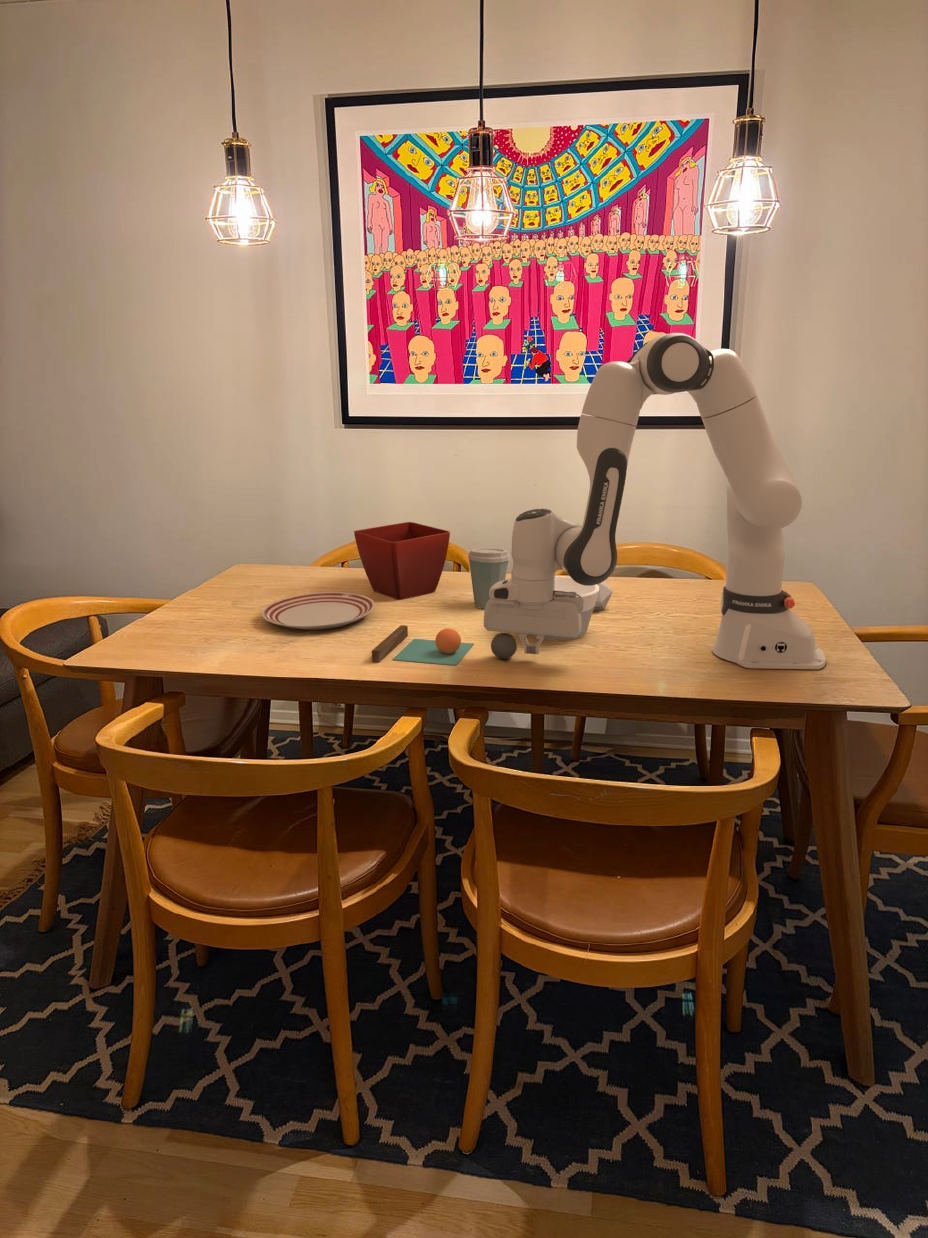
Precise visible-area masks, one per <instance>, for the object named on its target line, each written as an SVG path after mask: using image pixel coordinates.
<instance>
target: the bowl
mask: <svg viewBox="0 0 928 1238" xmlns="http://www.w3.org/2000/svg"><path fill="white" fill-rule="evenodd" d="M554 590H555V591H565V592H576V594H578V595H580V596H581V597H582V598H583V610H582V612H581V621H582V629H581V632H580V634H579V635H578V636H577V637H563V636H550V635H545V638H544V639H543V640H545V641H546V640H547V641H571V640H576V639H580V638H582V637H584V636H585V635H586V634H587V631H588V628H589V625H590V622H591V619H592V616H593V612H594V610H593V609H594V606H595V603H596V599H597V596H598V592H599V586H598V585H592V586H585V585H581V584H579V583H577V582H575V581H574V580H573V579H572V578H571V577H570V576H563V575H555V589H554ZM576 597H578V596H576ZM528 635H529V636H530V637H533V638H536V639H537V634H528Z"/></svg>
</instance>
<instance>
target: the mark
mask: <svg viewBox="0 0 928 1238" xmlns="http://www.w3.org/2000/svg"><path fill="white" fill-rule="evenodd" d="M473 646H474V643H472V642H470V643H469V642H461V644H460V647H459V649H458V650H457V651H456V652H454V653H452V654H445V653H442V652H441V651H439V650H438V648H437V646H436V643H435V640H434V639H423V638H413V639H412V640H411V641H410V642H409V643H408V644H407V645H406V646H405V647H403V649H402V650H401V651H400V652H398V654H397V655H395V656H394V657H393V658H392V661H399V662H411V663H422V664H430V665H431V664H433V665H441V664H442V665H441V666H443V665H444V666H453V665H454V667H455V666H456V665H457V666H458V664H459V663H460V662H461V661H462V660H463V658H465V656H466V654H467V653H468V652H469V651H470V650H471V649H472V647H473ZM457 666H456V667H457Z"/></svg>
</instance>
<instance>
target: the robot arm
mask: <svg viewBox="0 0 928 1238" xmlns="http://www.w3.org/2000/svg"><path fill="white" fill-rule="evenodd" d="M685 392H687V393H688V394H689V395H690V396H691V397H692V399H693V400H694V402H695V403H696V406H697V410H698V412H699V415H700V418H701V421H702V422H703V426H704V428H705V430H706V434H707V437H708V439H709V442H710V445H711V447H712V450H713V452H714V455H715V457H716V459H717V460H718V462H719V464H720V467H721V468H722V470H723V472H724V475H725V477H726V479H727V480H728V482H727V484H726V520H727V521H726V524H727V525H726V527H727V529H726V530H727V540H728V541H727V543H728V544H727V548H728V550H727V565H726V576H725V577H726V578H725V586H724V587H723V588H722V593H721V603H720V610H721V611H720V612H721V619H720V624H719V628H718V631H717V635H716V639H715V640H714V643H713V646H712V649H711V651H712V653H713V654H714V655H715V656H716V657H719V658H721V659H724V660H725V661H729V662H733V663H735V664H737V665H739V666H741V667H744V668H746V669H766V670H767V669H773V670H775V669H776V670H777V669H778V670H779V669H780V670H820V669H822V668H824V667H825V666H826V662H827V661H826V660H827V659H826V654H825V652H824V650H822V649H821V648H820V647H818V646H817V644H816V636H815V633H814V631H813V630H814V629H812V627H811V626H810V625H809V623H807V622H806V621H805V620H804V619H802V618H801V616H799V615H798V614H797V613H795V612H794V611H792V609H793V608H794V607H795V605H796V601H795V599H794V598H793V597H792V595H791V594H789V592H788V591H787V590H786V591H785V590H783V589H782V587H783V577H784V571H785V570H784V569H785V568H784V567H785V562H786V561H785V560H786V551H785V546H784V538H783V528H786V527H788V526H789V525H791V524H792V523H793V522H794V521H796V519H797V518H798V517H799V514H800V513H801V510H802V503H803V500H802V496H801V492H800V491H799V488H798V487H797V485H796V482H795V480H794V478H793V476H792V473H791V471H790V469H789V467H788V464H787V463H786V460H785V459H784V456H783V454H782V451H781V450H780V449H779V446H778V444H777V442H776V440H775V439H774V436H773V433H772V432H771V430H770V429H771V428H770V427H769V424H768V422H767V418H766V416H765V413H764V410H763V406H762V404H761V402H760V400H759V397H758V393H757V391H756V388H755V386H754V383H753V381H752V379H751V377H750V374H749V372H748V371H747V369H746V367H745V365H744V364H743V362H742V361H741V358H740V357H739V355H738V354H737V353H736V352H735V351H733V350H731V349H728V348H717V349H713V350H712V349H711V350H709V349H707V348H706V347H705V346H704V345H703V344H702V343H700V342H699V341H698V340H697V339H695V338H694V337H693V336H691V335H689V334H686V333H682V332H672V333H664V334H660V335H657V336H655V337H653V338H652V339H651V340H648V341H647V342H645V343H644V344H642V345H641V346H640V347H639V348H638V349H637V350H636V351H635V352H634V354H633V355H632V356H631V357H630V358H629V359H628V360H627V361H626V362H625V361H621V360H620V361H617V360H616V361H609V362H606V363H604V364H602V365H601V366H600V367H599V368H598V369H597V371H596V373H595V374H594V377H593V379H592V381H591V383H590V386H589V389H588V392H587V394H586V396H585V400H584V404H583V407H582V409H581V414H580V417H579V421H578V426H577V434H576V450H577V451H578V455H579V456H580V458H581V460H582V461H583V463H584V465H585V468H586V470H587V474H588V478H589V492H588V496H587V502H586V505H585V512H584V516H583V517H584V518H583V522H582V524H581V523H577V522H573V521H569V520H568V519H565V518H563V517H561V516H559V515H557V514H556V513H554V512H553V510H551V509H548V508H534V509H530V510H529V509H528V510H525V511H524V512H522V513H521V514H519V515H517V517H516V518H515V521H514V522H513V528H512V538H511V558H512V562H513V566H512V569H511V574H510V575H511V578H508V579H507V578H506V579H505V580H503V581H499V582H497V583H495V584H494V585H493V586H492V587H491V588H490V590H489V597H490V599H489V600H488V602H487V603H486V606H485V609H484V614H483V627H484V628H485V631H488V632H499V633H512V634H513V633H516V634H519V635H518V638H519V639H520V640H519V641H521V643H522V645H523V647H524V649H523V651H524V654H530V655H531V654H532V655H539V654H540V651H541V650H540V648H541V647H540V646H541V644H542V642H543V640H545V639H544V638H545V635H550V636H563V637H577V636H578V635H579V634H580V632H581V629H582V621H581V612H582V610H583V598H582V597H581V596H580V595H578V594H576V592H565V591H555V590H554V589H555V576H556V572H557V571H562V570H563V571H565V573H567V574H568V577H571V578H572V579H573V580H574V581H575V582H577V583H579V584H581V585H585V586H592V585H597V584H599V583H601V582H603V581H605V582H606V580H608V579H609V577H610V576H611V575H612V574H613V572H614V571H615V569H616V566H617V564H618V550H617V544H616V543H617V541H616V533H617V525H618V521H619V516H620V510H621V505H622V500H623V495H624V492H625V491H624V490H625V485H626V477H627V470H628V465H629V457H630V453H631V449H632V445H633V441H634V436H635V434H636V430H637V425H638V423H639V422H638V421H639V418H640V412H641V410H642V408H643V406H644V404H645V402H646V401H647V400H648V399H649V397H651V395H665V396H666V395H672V394H675V393H677V394H678V393H685ZM576 596H578V597H576ZM529 634H537V638H536V640H538V641H537V642H536V643H530V641H529V640H528V638H527V636H528V635H529Z"/></svg>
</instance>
